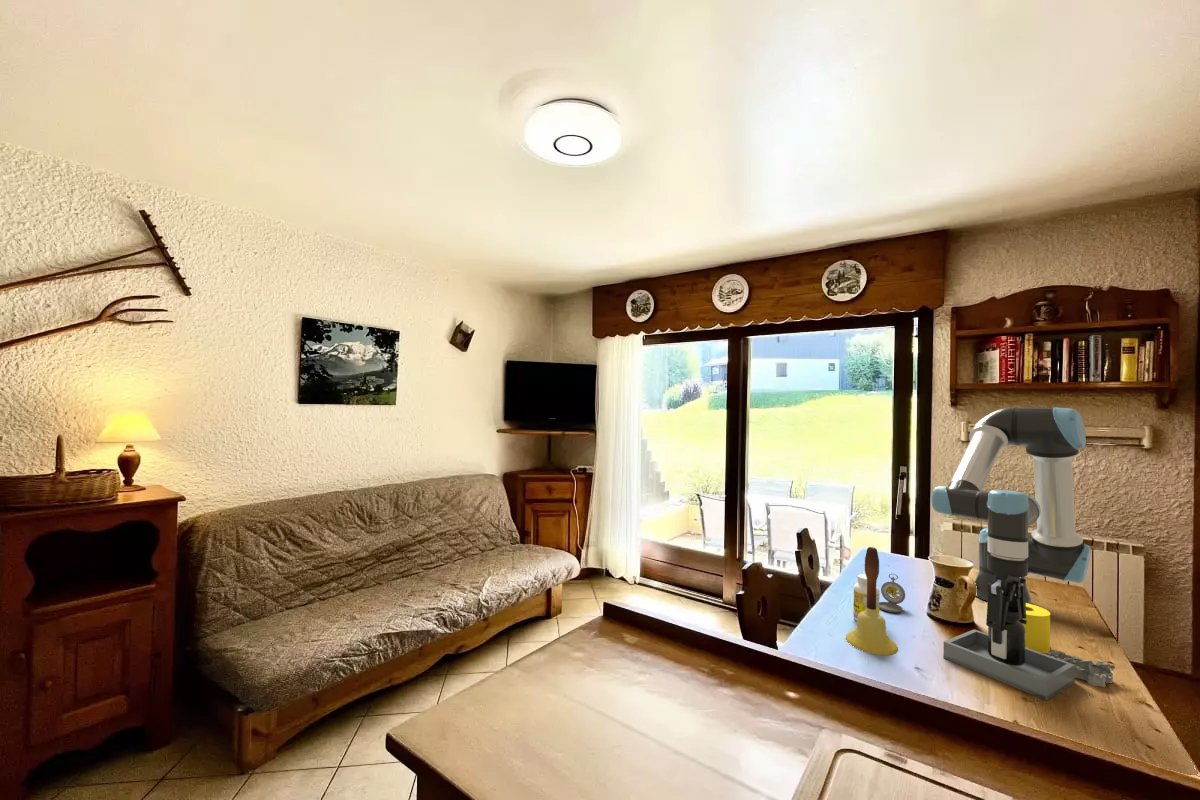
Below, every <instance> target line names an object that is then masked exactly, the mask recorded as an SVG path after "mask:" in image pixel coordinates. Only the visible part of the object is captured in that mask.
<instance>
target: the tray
mask: <svg viewBox="0 0 1200 800" xmlns="http://www.w3.org/2000/svg"><path fill="white" fill-rule="evenodd" d="M942 657H943V658H944V659H945V660H948V661H951V662H953V663H955V664H958V665H960V666H963V667H965V668H967V669H969V670H971V671H974V672H977V673H979V674H981V675H984V676H986V677H989V678H992V679H994V680H996V681H998V682H1001V683H1004V684H1005V685H1008V686H1010V687H1012V688H1015V689H1017V690H1020V691H1023V692H1024V693H1027V694H1030V695H1031V696H1034V697H1037V698H1039V699H1042V700H1044V701H1048V700H1049V699H1051V698H1052V697H1054V696H1055V695H1057V694H1059V693H1060V692H1062V691H1063V690H1066V689H1067V688H1068V687H1070V686H1072V685H1073V684H1074V683H1075V682H1076V681H1075V679H1076V678H1075V665H1074V664H1071V663H1068V662H1065V661H1063V660H1060V659H1057V658H1054V657H1051V656H1049V655H1048V654H1047V653H1040V652H1037V651H1034V650H1031V649H1029V648H1026V647H1025V663H1024V664H1023V665H1021V666H1013V665H1008V664H1005V663H1002V662H999V661H997V660H995V659H993V658H992V657H990V655H989V654H988V633H986V632H984V631H983V632H982V631H980V630H977V629H975V628H974V629H972V630H969V631H967V632H964V633H961V634H959V635H957V636H954V637H952V638H951V637H950V638H949V639H947V640H944V641H943V655H942Z"/></svg>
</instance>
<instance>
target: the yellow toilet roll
mask: <svg viewBox="0 0 1200 800" xmlns="http://www.w3.org/2000/svg"><path fill="white" fill-rule="evenodd" d="M1023 620H1027V623H1026V624H1023V623H1022V624H1023V625H1024V626H1025V647H1026V648H1029V649H1031V650H1034V651H1037V652H1040V653H1043V654H1047V653H1049V651H1050V652H1051V612H1050V611H1049V610H1047V609H1046V608H1043V607H1041V606H1038V605H1035V604H1032V603H1031V604H1028V603H1026V619H1023ZM1046 652H1047V653H1046Z"/></svg>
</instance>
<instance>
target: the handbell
mask: <svg viewBox="0 0 1200 800" xmlns="http://www.w3.org/2000/svg"><path fill="white" fill-rule="evenodd" d="M864 557H865V558H864V574H866V577H867V608H866V610H865V611H862V612H861V613H859V614H858V617H857V621H856V627H855V628H854V629H853V630H851V631H849V632H848V633H846V635H845V636H846V638H845V637H844V640H845V639H846V640H847V641H846V640H845V641H846V643H847V642H848V643H850V644H851V645H852V646H851V645H850V644H849V645H850V646H851V647H853V646H854V647H853V648H855V647H856V648H855V649H857V648H858V649H857V650H859V649H860V650H859V651H861V650H863V651H862V652H864V651H865V652H864V653H867V652H869V653H868V654H873V655H879V656H891V655H894V654H897V653H898V652H899V647H898V646H897V644H896V643H895V641H894V640H893V639H891V638H890V637H889V635H888V634H887V626H886V624H887V623H886V619H885V618H884V616H882V615H881V614H880V613H879V614H878V613H877V610H876V586H877V583H878V582H877V581H878V577H879V574H880V559H879V552H878V550H877V548H876V547H874V546H868V547H867V549H866V552H865V556H864ZM848 643H847V644H848Z"/></svg>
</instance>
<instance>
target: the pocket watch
mask: <svg viewBox="0 0 1200 800" xmlns="http://www.w3.org/2000/svg"><path fill="white" fill-rule="evenodd" d="M891 575H893V576H892V577H891ZM894 576H896V578H895V577H894ZM888 578H889V579H890V581H886V582H884V583H882V585H881V588H880V593H881V595H882V597H883V598H884V599H885V600H886V601H879V610H882V611H885V612H889V613H895V614H896V613H901V612H903V607H902V606H900V605H899V604H901V603H903V602H904V600H905V599H906V592H905V589H904V588H903V586H902V585H901V584H899V583H897V582H895V581H896V580H898V578H899V576H898V575H897V574H895V573H889V574H888Z"/></svg>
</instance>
